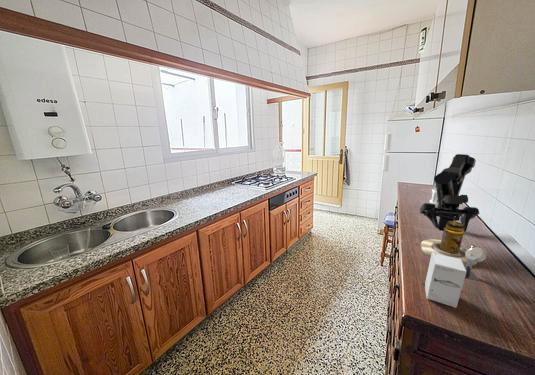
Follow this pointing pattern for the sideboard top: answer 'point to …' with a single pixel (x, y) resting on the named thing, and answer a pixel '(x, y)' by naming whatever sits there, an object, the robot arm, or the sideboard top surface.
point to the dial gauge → (473, 260)
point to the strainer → (434, 198)
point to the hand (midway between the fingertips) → (450, 229)
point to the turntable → (429, 249)
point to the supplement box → (445, 279)
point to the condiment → (451, 238)
